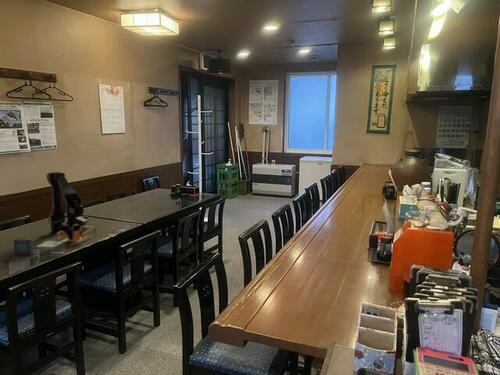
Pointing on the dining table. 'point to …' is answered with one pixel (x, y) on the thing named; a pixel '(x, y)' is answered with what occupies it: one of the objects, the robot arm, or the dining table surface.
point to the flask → (23, 247)
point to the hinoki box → (84, 234)
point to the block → (75, 236)
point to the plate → (50, 244)
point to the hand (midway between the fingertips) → (73, 238)
